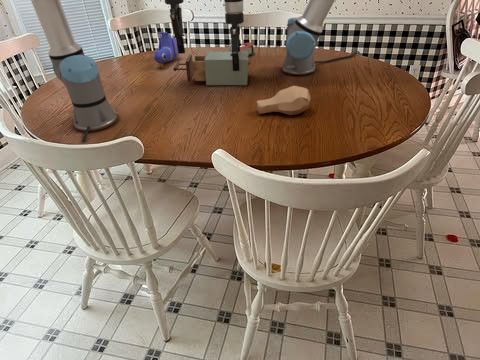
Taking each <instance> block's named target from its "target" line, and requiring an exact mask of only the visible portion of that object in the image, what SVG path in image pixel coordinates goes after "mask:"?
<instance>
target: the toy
mask: <svg viewBox="0 0 480 360" xmlns="http://www.w3.org/2000/svg"><path fill="white" fill-rule="evenodd" d="M157 34H158V35H161V36H159V40H158V49H157V51H156V50H154V53H153V55H152V58H153V60H154V61H155V62H156V63H158V64H160V67H161V69H163V68H164V64H166V63H169V62H172V61H173V60H175V59H176V58H177V57H179V55H180V54H178V47H177V41H176V38H174V35H172V36H171V35H170V34H169V33H168V31H164V32H163V31H158V32H157Z"/></svg>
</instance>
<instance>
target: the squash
mask: <svg viewBox="0 0 480 360" xmlns="http://www.w3.org/2000/svg"><path fill="white" fill-rule="evenodd" d="M311 98H312V97H311V95H310V90H309V89H307V88H306V87H302V86H298V85H292V86H289V87H287V88H283V89H280V90H279V91H277V92H276V94H275V95H274V96H272V97H271V98H265V99H257V100H256V102H255V103H256V107H257V109H256V110H257V113H258V114H259V115H263V114H266V113H273V112H275V113H282V114H284V115H287V116H295V115H300V114H301V113H303V112H305V111H306V110H308V109H309V107H310V102H311Z"/></svg>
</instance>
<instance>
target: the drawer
mask: <svg viewBox="0 0 480 360" xmlns="http://www.w3.org/2000/svg"><path fill="white" fill-rule="evenodd" d="M205 57H206V55H194V60H193V54H188V56H187V58H186V60H185V63H183V62H179V61H177V62H176V63H175V65H174V67H173V69H172V70H173V72H177V71H186V78H187V80H186V81H187V83H191V82H192V80H193V81H194V82H206V73H205ZM180 66H185V67H183V68H182V67H181V68H180Z"/></svg>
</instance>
